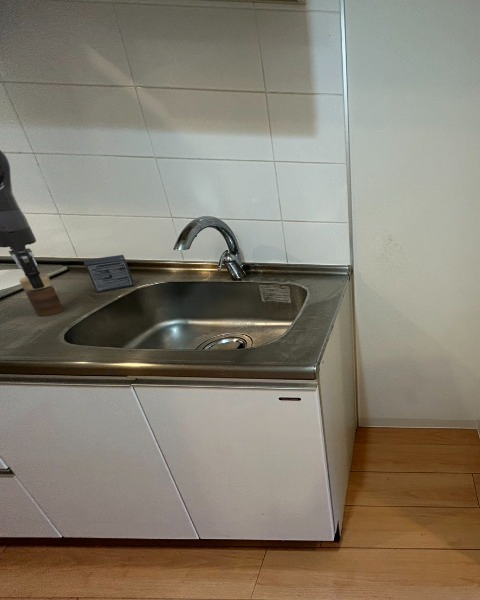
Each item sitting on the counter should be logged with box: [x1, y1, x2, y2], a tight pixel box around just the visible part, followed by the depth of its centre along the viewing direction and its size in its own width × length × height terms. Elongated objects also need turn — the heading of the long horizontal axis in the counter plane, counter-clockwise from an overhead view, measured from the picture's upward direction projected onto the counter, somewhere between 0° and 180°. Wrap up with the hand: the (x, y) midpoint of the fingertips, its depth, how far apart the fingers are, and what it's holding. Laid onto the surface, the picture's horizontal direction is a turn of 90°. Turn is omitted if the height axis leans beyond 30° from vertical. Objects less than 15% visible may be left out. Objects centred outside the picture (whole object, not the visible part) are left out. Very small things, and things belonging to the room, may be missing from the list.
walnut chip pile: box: [24, 284, 64, 317], centre depth 91 cm, size 6×6×8 cm
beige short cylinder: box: [18, 273, 53, 291], centre depth 88 cm, size 6×6×3 cm
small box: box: [83, 254, 136, 293], centre depth 108 cm, size 11×6×10 cm, turn 135°
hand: (36, 284), depth 89 cm, fingers closed on beige short cylinder, 5 cm apart
